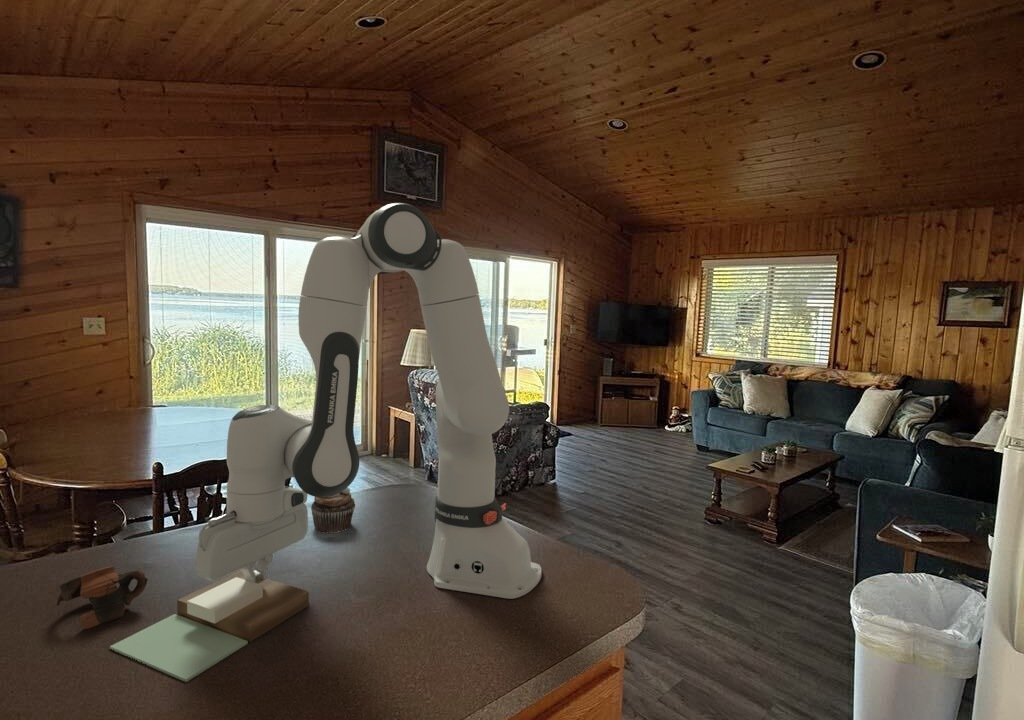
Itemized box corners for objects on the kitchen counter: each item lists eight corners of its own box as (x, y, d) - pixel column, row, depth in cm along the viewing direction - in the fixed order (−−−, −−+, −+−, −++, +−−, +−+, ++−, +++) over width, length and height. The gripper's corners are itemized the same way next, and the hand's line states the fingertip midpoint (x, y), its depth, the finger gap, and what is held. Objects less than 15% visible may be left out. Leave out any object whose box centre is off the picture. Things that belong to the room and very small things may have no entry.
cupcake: (303, 524, 132) (303, 481, 132) (342, 515, 139) (343, 474, 138) (321, 538, 126) (322, 493, 125) (362, 528, 132) (363, 485, 131)
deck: (308, 605, 98) (308, 591, 98) (250, 642, 87) (250, 626, 87) (239, 583, 104) (239, 570, 104) (177, 614, 93) (177, 600, 93)
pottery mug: (59, 641, 86) (45, 587, 87) (74, 637, 94) (61, 588, 95) (151, 603, 92) (136, 553, 93) (158, 602, 100) (145, 556, 101)
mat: (247, 643, 86) (247, 641, 86) (186, 682, 77) (186, 679, 77) (174, 616, 93) (174, 613, 93) (109, 649, 84) (109, 646, 84)
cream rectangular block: (236, 588, 98) (236, 577, 97) (262, 597, 95) (262, 585, 95) (187, 613, 89) (187, 601, 89) (214, 623, 87) (214, 610, 87)
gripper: (214, 527, 86) (214, 617, 87) (314, 490, 104) (313, 564, 105) (185, 519, 88) (185, 606, 89) (287, 484, 107) (287, 556, 108)
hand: (255, 583), depth 98 cm, fingers closed
